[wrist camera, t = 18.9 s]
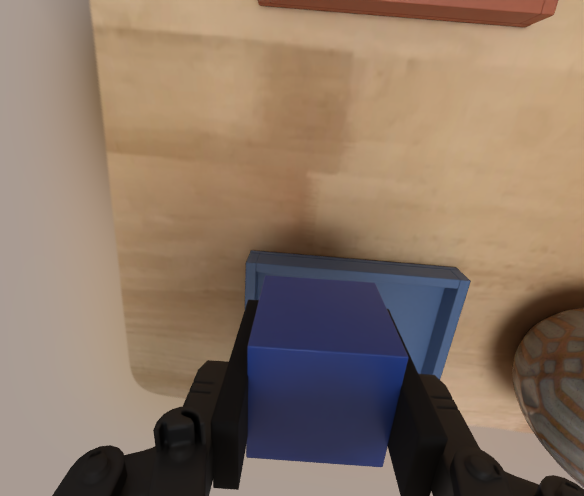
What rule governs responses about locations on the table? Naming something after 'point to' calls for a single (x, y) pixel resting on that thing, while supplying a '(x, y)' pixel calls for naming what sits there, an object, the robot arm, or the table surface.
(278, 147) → the table surface
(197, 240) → the table surface
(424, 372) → the blue tray
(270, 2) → the terracotta tray
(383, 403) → the blue block
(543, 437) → the vase
